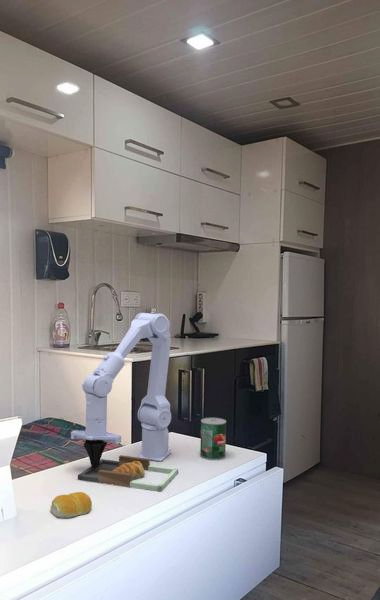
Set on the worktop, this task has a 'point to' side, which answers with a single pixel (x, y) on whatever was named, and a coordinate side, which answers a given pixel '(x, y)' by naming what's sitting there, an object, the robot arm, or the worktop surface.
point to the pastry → (131, 469)
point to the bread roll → (71, 505)
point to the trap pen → (92, 473)
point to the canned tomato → (213, 438)
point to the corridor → (119, 477)
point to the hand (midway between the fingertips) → (95, 466)
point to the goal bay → (156, 487)
